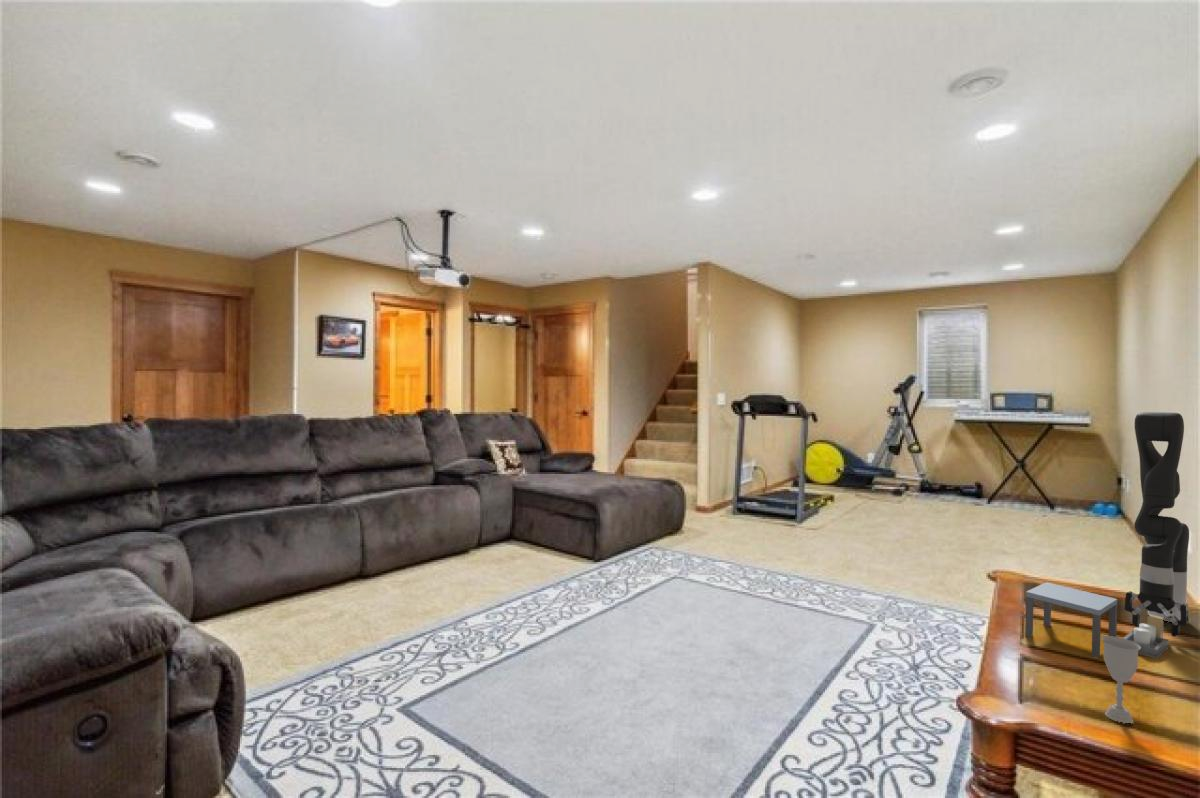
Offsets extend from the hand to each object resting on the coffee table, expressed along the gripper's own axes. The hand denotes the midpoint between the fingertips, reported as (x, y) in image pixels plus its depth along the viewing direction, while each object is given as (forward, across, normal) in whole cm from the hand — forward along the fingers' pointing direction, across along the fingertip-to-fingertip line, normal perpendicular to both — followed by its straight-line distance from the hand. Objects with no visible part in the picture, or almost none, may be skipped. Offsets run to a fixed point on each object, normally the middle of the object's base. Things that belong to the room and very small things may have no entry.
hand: (1155, 631), depth 178 cm
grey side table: (+3, +14, +23) cm, 27 cm away
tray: (+3, 0, +8) cm, 8 cm away
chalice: (+3, -8, +65) cm, 65 cm away
